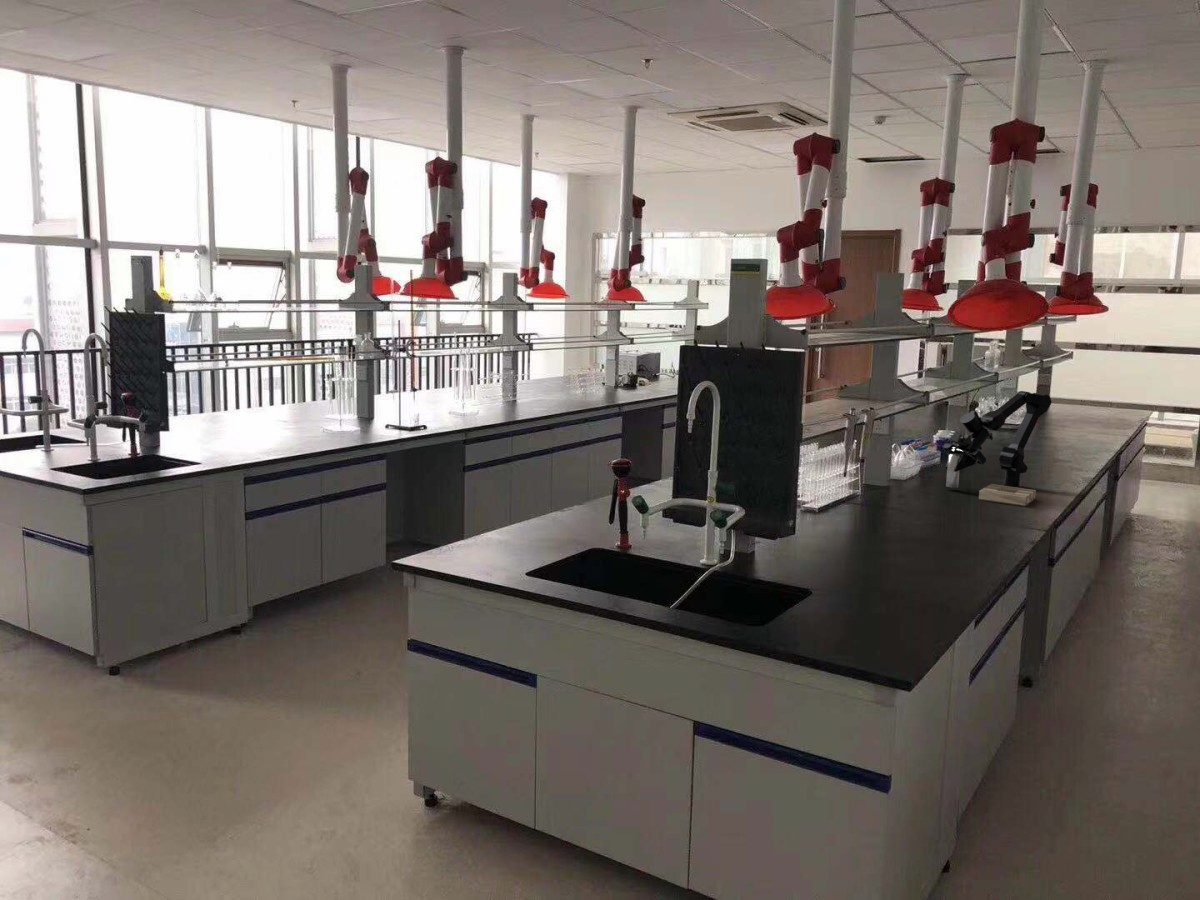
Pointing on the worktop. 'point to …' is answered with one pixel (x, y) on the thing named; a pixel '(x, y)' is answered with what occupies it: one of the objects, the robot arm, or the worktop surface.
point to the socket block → (1007, 495)
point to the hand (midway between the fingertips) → (950, 469)
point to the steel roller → (952, 470)
